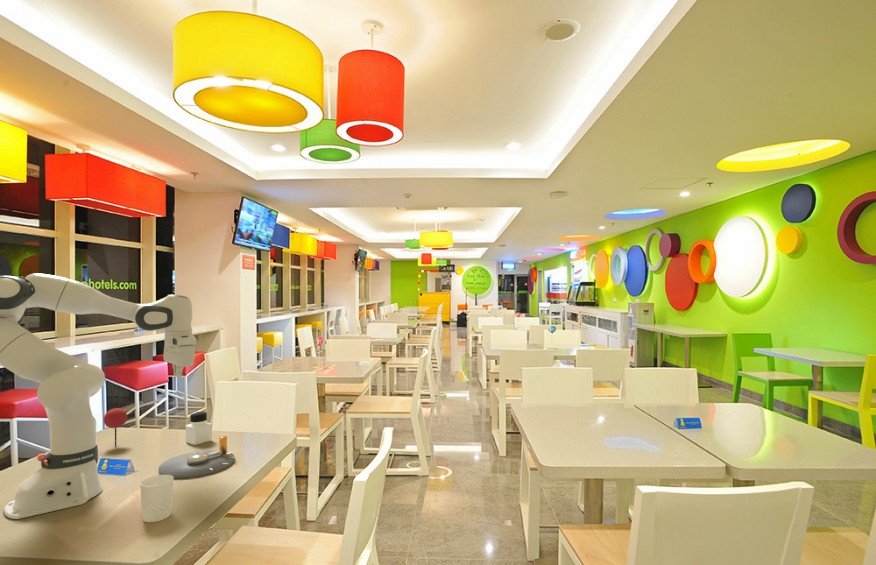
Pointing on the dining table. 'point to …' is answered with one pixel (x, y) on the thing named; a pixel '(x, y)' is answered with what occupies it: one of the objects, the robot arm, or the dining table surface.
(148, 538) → the dining table surface
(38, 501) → the robot arm
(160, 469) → the dial plate
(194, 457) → the dial
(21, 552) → the dining table surface
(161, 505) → the white cup
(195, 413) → the white square bottle
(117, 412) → the lollipop
